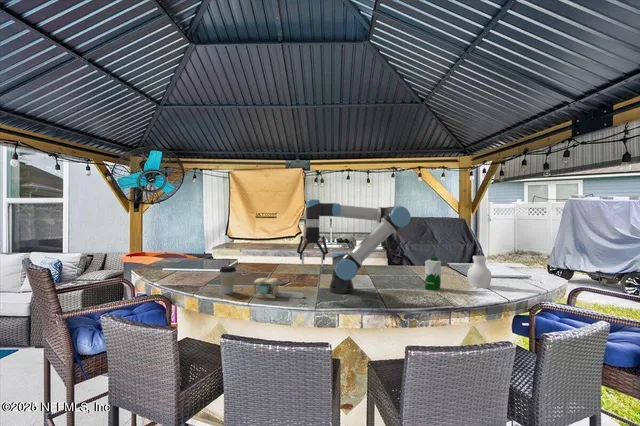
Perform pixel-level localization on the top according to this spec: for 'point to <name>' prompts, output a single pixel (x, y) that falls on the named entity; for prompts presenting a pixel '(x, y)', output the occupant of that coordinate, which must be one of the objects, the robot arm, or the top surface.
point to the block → (263, 289)
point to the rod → (288, 294)
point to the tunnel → (272, 287)
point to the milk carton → (432, 274)
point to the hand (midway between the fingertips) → (312, 265)
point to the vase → (479, 273)
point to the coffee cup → (227, 279)
